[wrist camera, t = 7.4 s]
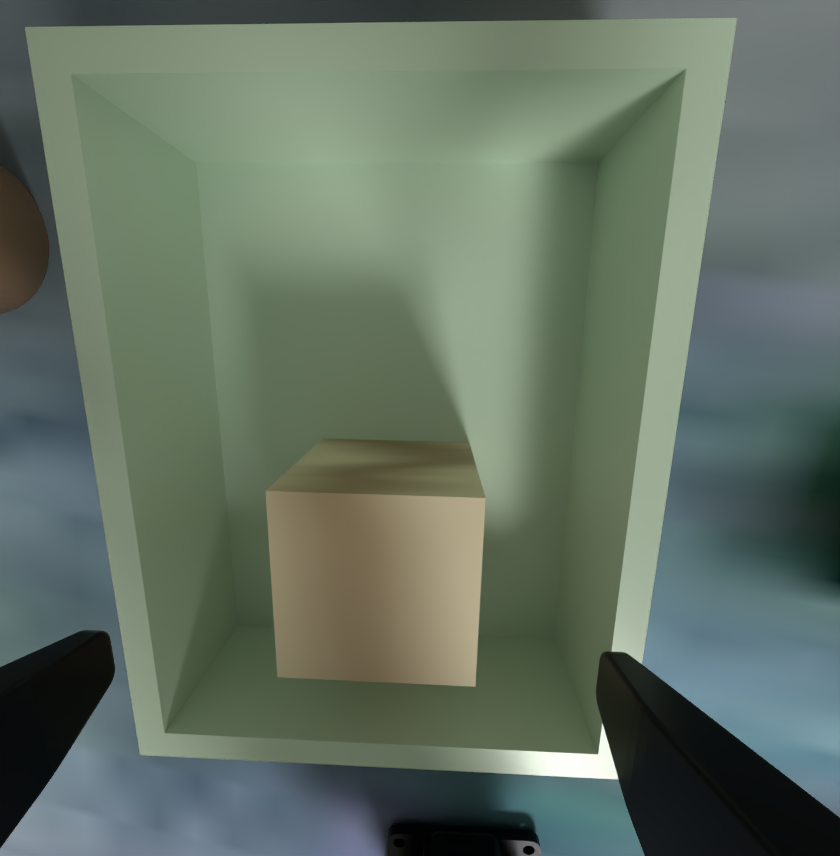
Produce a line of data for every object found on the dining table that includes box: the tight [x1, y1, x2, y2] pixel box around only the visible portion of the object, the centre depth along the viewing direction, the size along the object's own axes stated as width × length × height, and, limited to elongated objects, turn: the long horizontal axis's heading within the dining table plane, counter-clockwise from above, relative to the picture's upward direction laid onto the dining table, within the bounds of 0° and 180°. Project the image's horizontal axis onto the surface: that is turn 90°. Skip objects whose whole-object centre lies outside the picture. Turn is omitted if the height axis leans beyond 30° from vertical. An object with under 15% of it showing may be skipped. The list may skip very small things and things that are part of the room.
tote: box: [25, 18, 737, 779], centre depth 12 cm, size 18×14×5 cm
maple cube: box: [265, 438, 486, 687], centre depth 13 cm, size 5×5×5 cm
